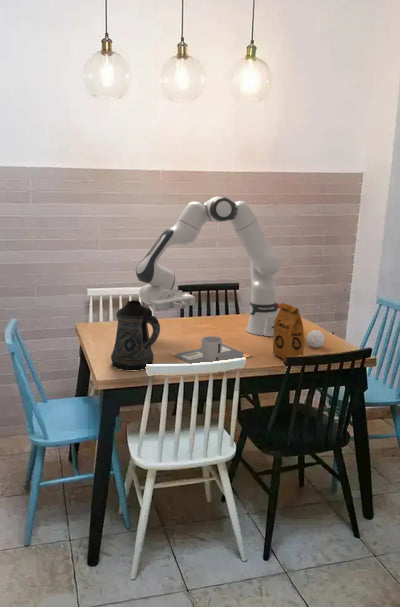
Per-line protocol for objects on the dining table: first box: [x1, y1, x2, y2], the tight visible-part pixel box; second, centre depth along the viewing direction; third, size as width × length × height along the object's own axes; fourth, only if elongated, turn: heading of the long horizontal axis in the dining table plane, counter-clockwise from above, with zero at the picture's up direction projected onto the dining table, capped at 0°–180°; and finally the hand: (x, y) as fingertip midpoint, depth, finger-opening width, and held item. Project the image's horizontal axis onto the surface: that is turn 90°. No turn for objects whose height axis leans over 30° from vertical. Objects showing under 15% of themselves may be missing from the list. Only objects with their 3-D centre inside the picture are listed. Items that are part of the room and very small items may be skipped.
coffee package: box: [272, 302, 305, 360], centre depth 219 cm, size 10×12×22 cm
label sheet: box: [172, 343, 245, 364], centre depth 222 cm, size 26×20×1 cm
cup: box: [201, 335, 223, 362], centre depth 211 cm, size 8×8×10 cm
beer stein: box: [110, 300, 161, 371], centre depth 208 cm, size 16×19×25 cm
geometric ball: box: [306, 329, 326, 349], centre depth 235 cm, size 8×8×8 cm
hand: (183, 306), depth 223 cm, fingers closed
